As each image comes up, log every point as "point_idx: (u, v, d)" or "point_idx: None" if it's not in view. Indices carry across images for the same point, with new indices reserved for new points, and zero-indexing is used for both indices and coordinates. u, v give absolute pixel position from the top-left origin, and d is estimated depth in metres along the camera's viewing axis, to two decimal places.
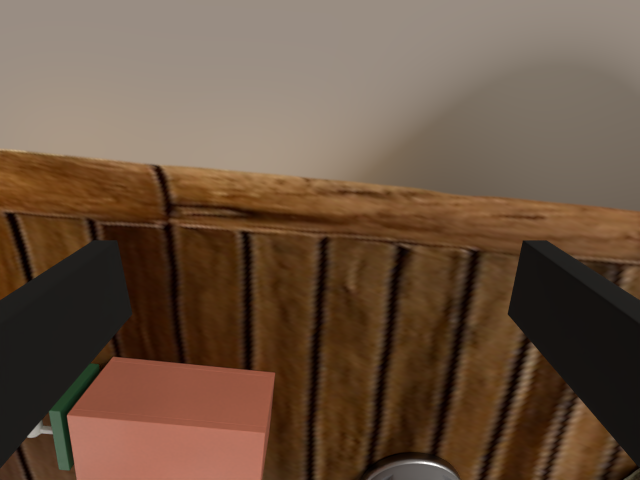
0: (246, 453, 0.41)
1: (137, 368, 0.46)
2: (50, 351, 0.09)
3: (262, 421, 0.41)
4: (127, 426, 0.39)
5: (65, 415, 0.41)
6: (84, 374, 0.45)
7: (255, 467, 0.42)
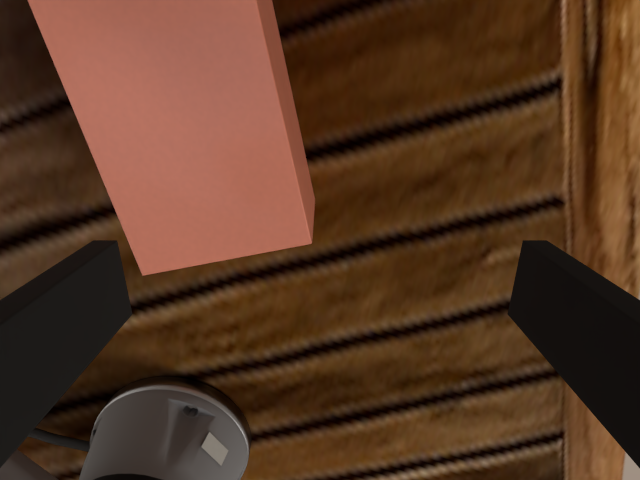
0: (249, 224, 0.21)
1: None
2: (51, 350, 0.09)
3: (311, 227, 0.22)
4: None
5: None
6: None
7: (219, 249, 0.21)
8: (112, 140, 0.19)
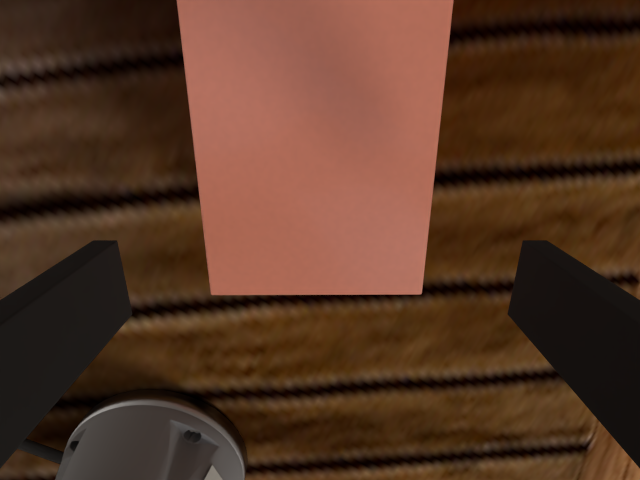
0: (357, 260, 0.17)
1: None
2: (50, 351, 0.09)
3: None
4: None
5: None
6: None
7: (313, 281, 0.18)
8: (225, 131, 0.15)
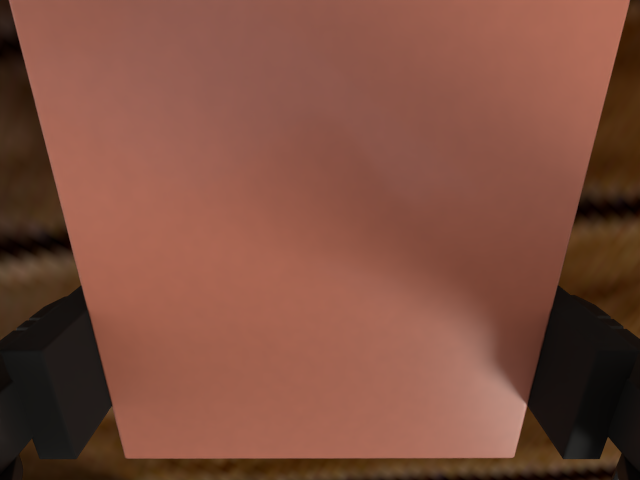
0: (398, 405, 0.09)
1: None
2: None
3: None
4: None
5: None
6: None
7: (313, 438, 0.09)
8: (122, 167, 0.07)
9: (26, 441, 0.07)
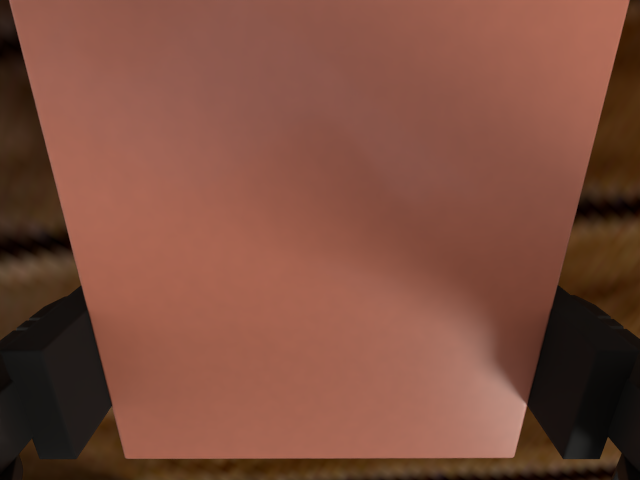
0: (398, 405, 0.09)
1: None
2: None
3: None
4: None
5: None
6: None
7: (313, 438, 0.09)
8: (122, 166, 0.07)
9: (26, 441, 0.07)
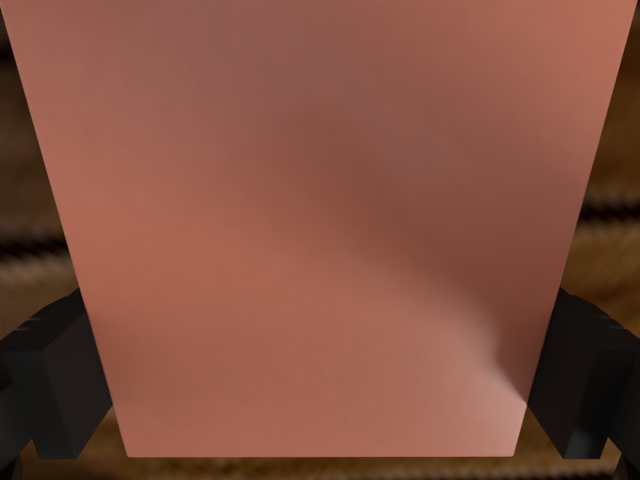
0: (398, 406, 0.09)
1: None
2: None
3: None
4: None
5: None
6: None
7: (314, 438, 0.10)
8: (118, 171, 0.07)
9: (26, 441, 0.07)
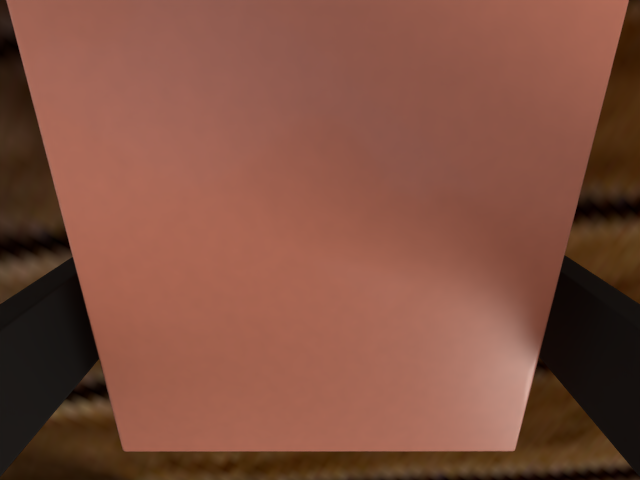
0: (398, 397, 0.09)
1: None
2: (59, 347, 0.09)
3: None
4: None
5: None
6: None
7: (312, 431, 0.09)
8: (118, 154, 0.07)
9: None
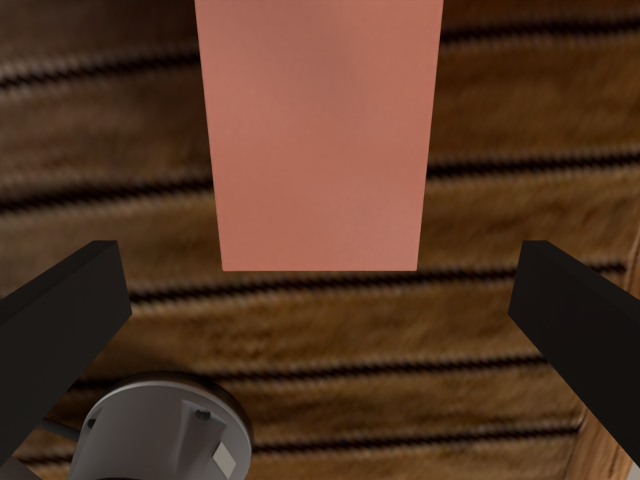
0: (357, 238, 0.19)
1: None
2: (50, 350, 0.09)
3: None
4: None
5: None
6: None
7: (316, 258, 0.19)
8: (237, 119, 0.17)
9: None
